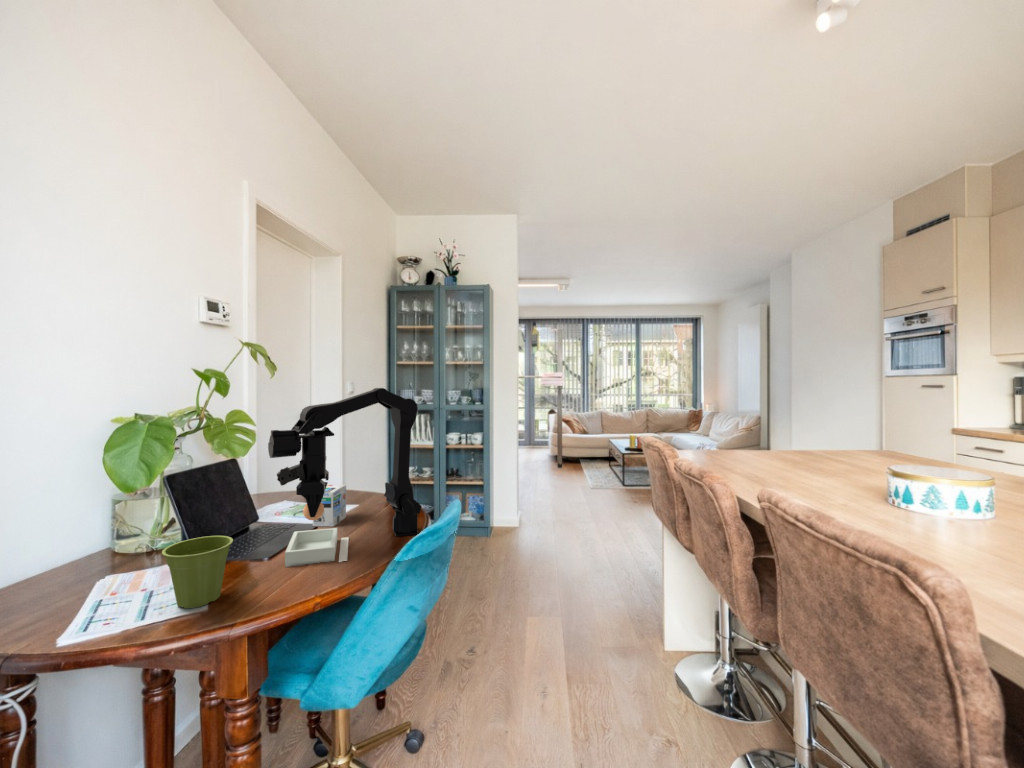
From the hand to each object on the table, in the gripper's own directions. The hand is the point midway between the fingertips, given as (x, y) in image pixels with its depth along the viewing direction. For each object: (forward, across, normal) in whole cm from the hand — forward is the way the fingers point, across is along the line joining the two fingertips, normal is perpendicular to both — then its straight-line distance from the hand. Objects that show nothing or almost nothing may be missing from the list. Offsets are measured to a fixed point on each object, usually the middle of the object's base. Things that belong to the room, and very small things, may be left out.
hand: (313, 514), depth 118 cm
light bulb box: (+10, -27, +2) cm, 29 cm away
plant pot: (+10, +21, -20) cm, 30 cm away
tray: (+10, 0, 0) cm, 10 cm away
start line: (+10, 0, +7) cm, 12 cm away
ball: (-1, 0, 0) cm, 1 cm away
